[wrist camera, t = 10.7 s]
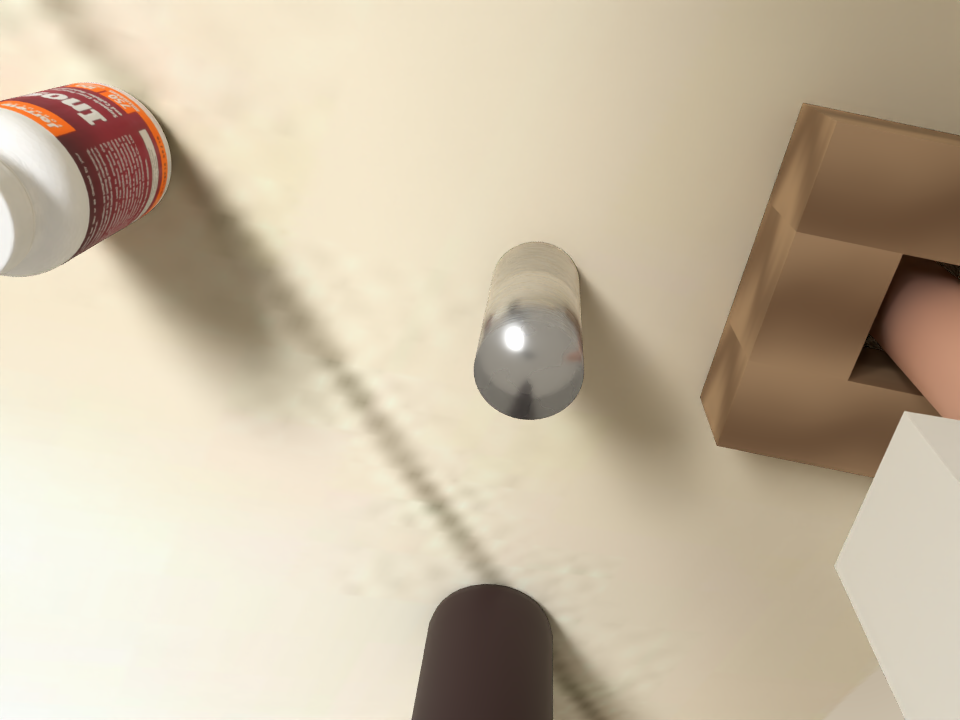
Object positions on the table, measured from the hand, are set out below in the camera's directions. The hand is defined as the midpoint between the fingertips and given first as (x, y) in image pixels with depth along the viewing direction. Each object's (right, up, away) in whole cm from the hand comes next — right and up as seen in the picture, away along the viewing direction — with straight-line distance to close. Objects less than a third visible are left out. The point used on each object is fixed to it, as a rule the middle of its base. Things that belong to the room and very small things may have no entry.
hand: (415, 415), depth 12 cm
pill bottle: (-16, +10, +26) cm, 32 cm away
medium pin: (+3, +4, +27) cm, 27 cm away
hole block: (+20, +4, +26) cm, 32 cm away
